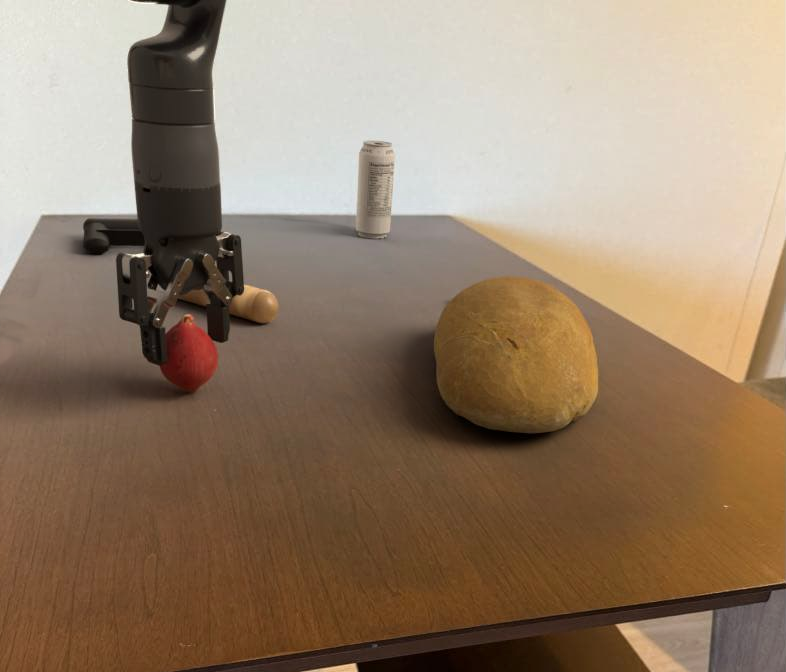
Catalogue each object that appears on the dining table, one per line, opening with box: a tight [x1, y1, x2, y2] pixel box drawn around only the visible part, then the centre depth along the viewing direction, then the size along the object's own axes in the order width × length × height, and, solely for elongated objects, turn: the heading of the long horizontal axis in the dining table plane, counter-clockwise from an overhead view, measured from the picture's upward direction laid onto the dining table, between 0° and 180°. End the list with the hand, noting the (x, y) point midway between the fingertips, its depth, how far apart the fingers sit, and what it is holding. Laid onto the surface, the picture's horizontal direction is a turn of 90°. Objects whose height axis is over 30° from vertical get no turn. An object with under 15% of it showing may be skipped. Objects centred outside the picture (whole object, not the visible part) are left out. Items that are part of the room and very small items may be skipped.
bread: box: [433, 275, 599, 434], centre depth 93 cm, size 18×35×10 cm, turn 178°
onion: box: [158, 313, 219, 394], centre depth 84 cm, size 6×6×8 cm
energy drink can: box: [355, 140, 396, 240], centre depth 146 cm, size 6×6×15 cm
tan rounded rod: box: [177, 283, 280, 324], centre depth 108 cm, size 18×4×4 cm, turn 57°
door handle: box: [82, 217, 145, 255], centre depth 132 cm, size 3×20×16 cm
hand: (188, 351), depth 84 cm, fingers open, 8 cm apart
